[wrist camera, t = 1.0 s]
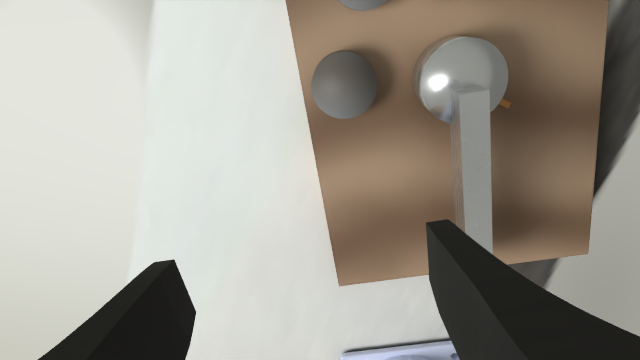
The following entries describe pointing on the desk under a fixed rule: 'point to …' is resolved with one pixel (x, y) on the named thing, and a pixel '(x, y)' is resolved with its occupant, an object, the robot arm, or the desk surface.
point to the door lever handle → (465, 119)
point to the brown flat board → (434, 134)
